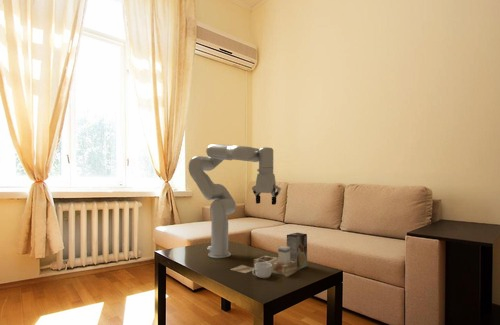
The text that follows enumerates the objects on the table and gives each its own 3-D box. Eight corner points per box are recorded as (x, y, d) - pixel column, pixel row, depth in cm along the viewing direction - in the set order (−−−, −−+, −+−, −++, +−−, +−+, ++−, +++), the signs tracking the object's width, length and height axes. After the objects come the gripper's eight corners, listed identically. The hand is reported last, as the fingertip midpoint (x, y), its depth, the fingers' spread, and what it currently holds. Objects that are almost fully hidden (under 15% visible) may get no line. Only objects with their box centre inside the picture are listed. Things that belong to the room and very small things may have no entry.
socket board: (253, 269, 139) (253, 258, 139) (264, 264, 147) (264, 254, 148) (286, 277, 128) (286, 265, 129) (296, 271, 137) (297, 260, 137)
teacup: (264, 273, 134) (264, 261, 134) (275, 277, 128) (275, 265, 128) (247, 277, 128) (247, 264, 128) (258, 282, 122) (258, 269, 122)
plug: (278, 269, 135) (278, 247, 135) (282, 266, 138) (282, 245, 138) (285, 270, 132) (286, 248, 133) (290, 268, 136) (290, 246, 136)
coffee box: (296, 263, 149) (296, 232, 150) (307, 266, 145) (307, 233, 145) (286, 267, 142) (286, 234, 143) (297, 270, 138) (297, 236, 139)
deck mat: (230, 270, 137) (230, 269, 137) (241, 266, 144) (241, 265, 144) (245, 274, 131) (245, 273, 131) (256, 269, 139) (256, 268, 139)
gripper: (248, 171, 154) (248, 203, 153) (276, 170, 144) (276, 205, 143) (256, 171, 160) (256, 202, 159) (284, 171, 150) (283, 204, 149)
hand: (265, 203), depth 151 cm, fingers open, 9 cm apart
